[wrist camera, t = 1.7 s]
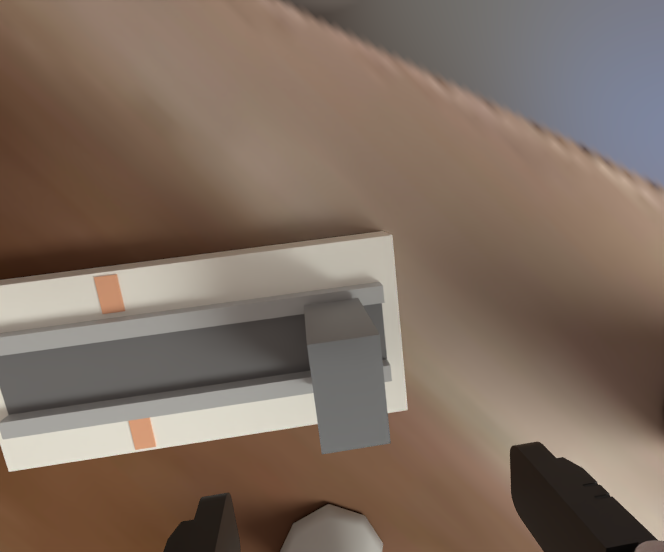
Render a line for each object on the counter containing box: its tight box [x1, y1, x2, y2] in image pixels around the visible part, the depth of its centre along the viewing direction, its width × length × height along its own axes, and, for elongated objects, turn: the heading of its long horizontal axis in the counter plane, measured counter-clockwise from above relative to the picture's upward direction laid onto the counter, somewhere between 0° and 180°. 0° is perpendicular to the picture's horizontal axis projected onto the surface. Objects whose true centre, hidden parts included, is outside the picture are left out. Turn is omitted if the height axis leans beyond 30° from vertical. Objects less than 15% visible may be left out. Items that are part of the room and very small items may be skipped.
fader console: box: [0, 231, 408, 472], centre depth 25 cm, size 24×11×4 cm, turn 97°
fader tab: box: [304, 298, 390, 454], centre depth 21 cm, size 3×5×7 cm, turn 7°
